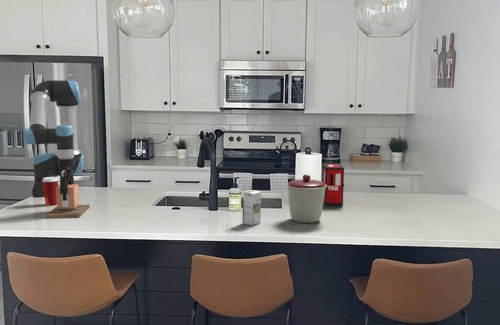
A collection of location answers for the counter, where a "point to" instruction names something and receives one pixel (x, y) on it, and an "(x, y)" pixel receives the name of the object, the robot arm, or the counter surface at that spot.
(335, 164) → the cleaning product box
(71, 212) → the wooden base with block
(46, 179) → the paper cup
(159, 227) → the counter surface
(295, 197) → the canister
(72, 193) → the peach bevelled cube
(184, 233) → the counter surface
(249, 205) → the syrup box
